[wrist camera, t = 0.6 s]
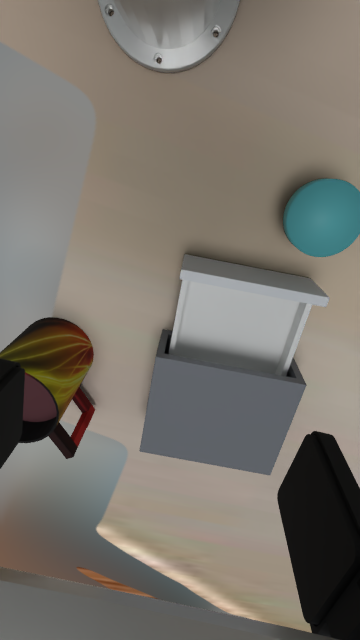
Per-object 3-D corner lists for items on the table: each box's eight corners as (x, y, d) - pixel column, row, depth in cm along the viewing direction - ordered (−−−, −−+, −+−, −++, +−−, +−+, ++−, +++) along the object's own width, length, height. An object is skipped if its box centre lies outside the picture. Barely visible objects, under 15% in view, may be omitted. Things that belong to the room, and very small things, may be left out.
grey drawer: (184, 254, 39) (181, 269, 33) (310, 278, 39) (329, 297, 33) (166, 353, 44) (160, 382, 39) (276, 374, 45) (287, 406, 39)
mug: (94, 407, 49) (63, 475, 38) (10, 353, 46) (-49, 410, 36) (132, 364, 46) (110, 426, 35) (44, 303, 43) (-10, 348, 32)
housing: (162, 329, 43) (155, 356, 37) (291, 353, 44) (306, 385, 37) (147, 414, 49) (139, 451, 43) (261, 435, 49) (270, 475, 43)
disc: (295, 172, 32) (301, 172, 30) (368, 186, 32) (378, 187, 30) (274, 245, 35) (278, 249, 33) (341, 258, 35) (348, 263, 33)
